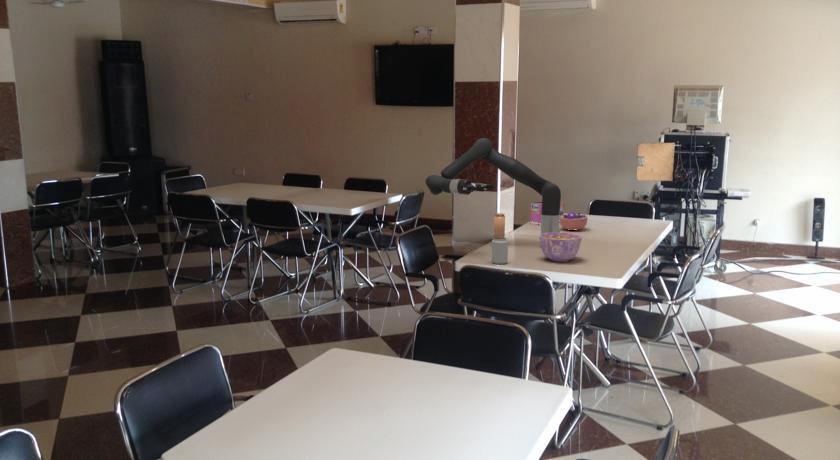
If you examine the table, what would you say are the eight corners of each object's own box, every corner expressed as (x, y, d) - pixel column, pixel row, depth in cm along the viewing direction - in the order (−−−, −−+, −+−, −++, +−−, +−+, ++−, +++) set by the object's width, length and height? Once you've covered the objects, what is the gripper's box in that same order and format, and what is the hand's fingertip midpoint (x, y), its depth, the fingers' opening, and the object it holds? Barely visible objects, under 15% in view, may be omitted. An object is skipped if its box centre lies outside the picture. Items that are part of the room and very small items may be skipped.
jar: (503, 236, 328) (503, 213, 326) (505, 238, 323) (506, 214, 321) (492, 236, 327) (493, 213, 325) (495, 238, 322) (495, 214, 320)
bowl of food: (554, 265, 320) (554, 241, 318) (530, 257, 338) (530, 234, 336) (589, 262, 328) (590, 237, 326) (564, 254, 346) (565, 231, 344)
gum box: (556, 220, 454) (556, 199, 452) (565, 222, 448) (566, 201, 445) (530, 224, 440) (530, 202, 438) (539, 225, 434) (539, 204, 431)
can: (490, 261, 330) (490, 236, 328) (505, 261, 330) (506, 236, 328) (493, 264, 322) (493, 239, 320) (509, 264, 323) (509, 238, 321)
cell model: (592, 229, 420) (592, 210, 418) (580, 234, 404) (581, 214, 402) (565, 226, 429) (565, 208, 427) (553, 231, 413) (553, 212, 411)
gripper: (452, 180, 339) (480, 181, 329) (469, 177, 350) (496, 179, 340) (452, 195, 340) (480, 197, 330) (469, 192, 351) (496, 194, 341)
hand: (488, 188), depth 335 cm, fingers open, 8 cm apart
